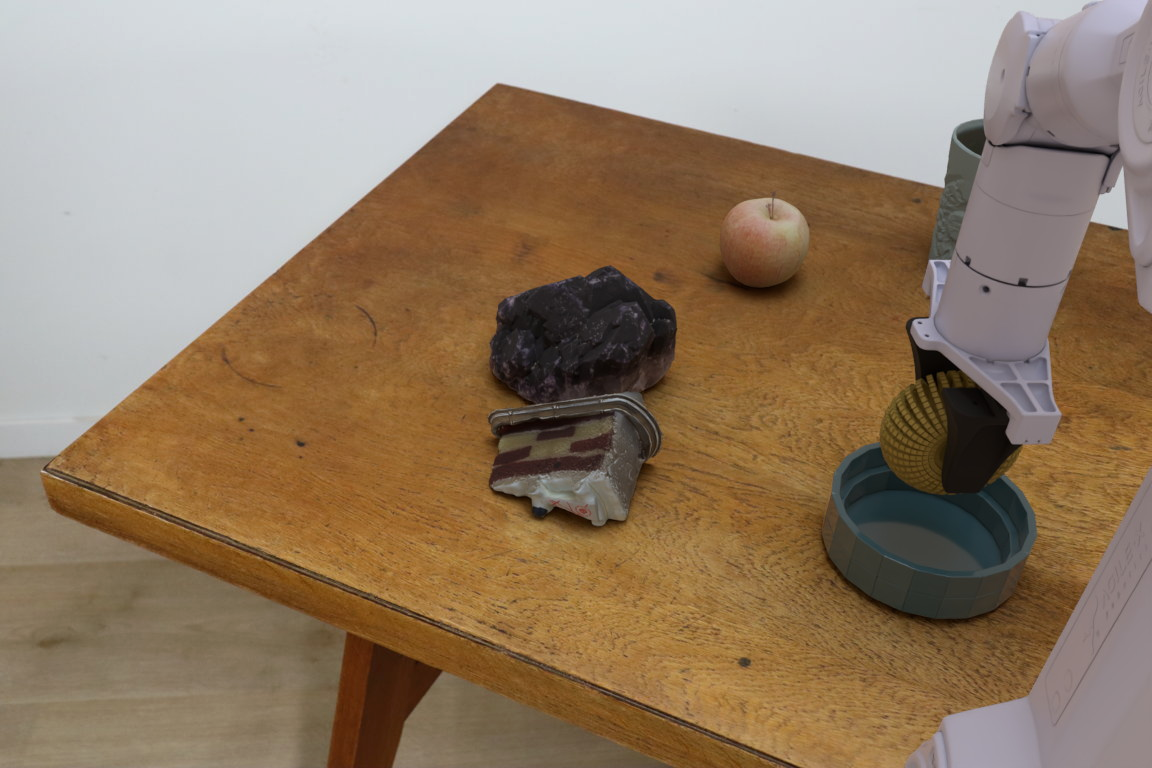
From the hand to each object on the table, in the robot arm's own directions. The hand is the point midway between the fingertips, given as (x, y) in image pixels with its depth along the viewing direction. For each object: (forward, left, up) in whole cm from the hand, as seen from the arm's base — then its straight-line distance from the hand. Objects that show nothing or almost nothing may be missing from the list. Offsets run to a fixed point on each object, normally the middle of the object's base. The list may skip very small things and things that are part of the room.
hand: (946, 459), depth 65 cm
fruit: (+32, +4, -8) cm, 33 cm away
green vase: (+34, -16, -8) cm, 38 cm away
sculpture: (0, 0, -2) cm, 2 cm away
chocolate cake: (+6, +22, -8) cm, 24 cm away
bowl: (0, 0, -7) cm, 7 cm away
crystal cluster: (+19, +20, -8) cm, 29 cm away
